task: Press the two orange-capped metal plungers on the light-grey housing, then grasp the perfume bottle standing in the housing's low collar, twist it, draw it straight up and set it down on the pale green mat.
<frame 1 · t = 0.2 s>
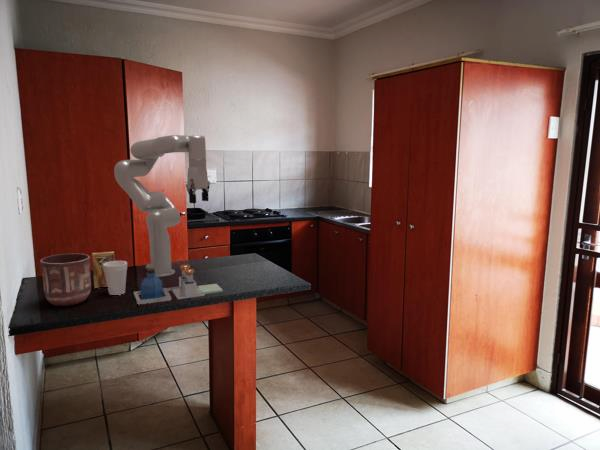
hand: (199, 201, 208), 36 cm above the counter, tool pointing down, fingers open, 9 cm apart
mat: (208, 289, 199), on the counter
perfume bottle: (152, 298, 188), resting in housing
plunger b: (185, 273, 197), point 8 cm above the counter, slide at 0.0 cm
foam cup: (117, 294, 194), on the counter
housing: (169, 295, 191), on the counter
plunger a: (189, 278, 190), point 8 cm above the counter, slide at 0.0 cm
candy box: (105, 287, 203), on the counter
pottery: (69, 302, 183), on the counter
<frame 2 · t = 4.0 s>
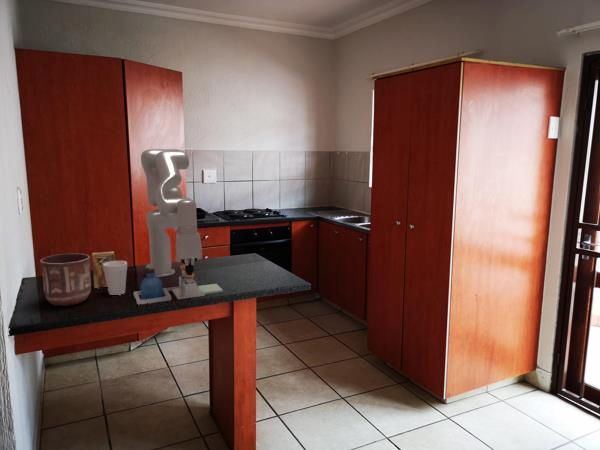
hand: (189, 274, 189), 9 cm above the counter, tool pointing down, fingers closed
plunger a: (189, 282, 190), point 6 cm above the counter, slide at 1.7 cm, touching gripper
everything else where it was.
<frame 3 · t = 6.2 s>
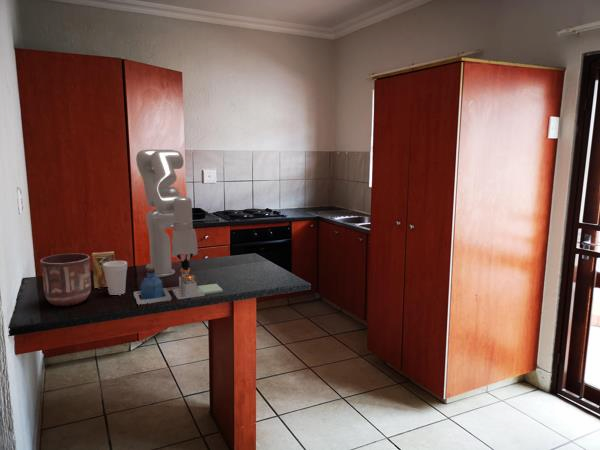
hand: (185, 269, 196), 9 cm above the counter, tool pointing down, fingers closed
plunger b: (185, 277, 197), point 6 cm above the counter, slide at 1.6 cm, touching gripper
plunger a: (189, 284, 190), point 5 cm above the counter, slide at 2.6 cm
everything else where it was.
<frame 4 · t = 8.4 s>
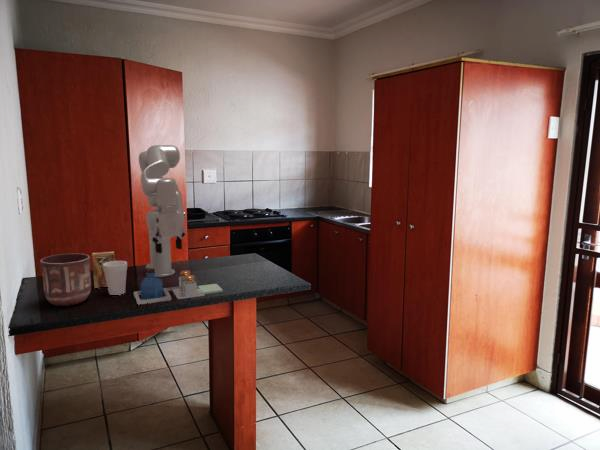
hand: (169, 250, 190), 19 cm above the counter, tool pointing down, fingers open, 9 cm apart
plunger b: (185, 279, 197), point 5 cm above the counter, slide at 2.6 cm
everything else where it was.
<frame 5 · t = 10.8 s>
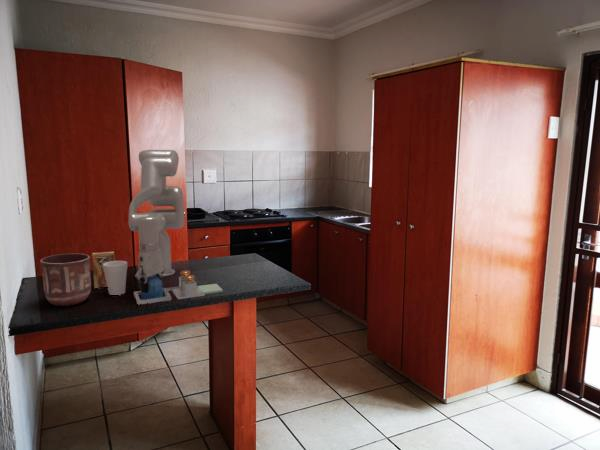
hand: (151, 289, 188), 4 cm above the counter, tool pointing down, fingers closed on perfume bottle, 7 cm apart
perfume bottle: (152, 298, 188), resting in housing, touching gripper
everything else where it was.
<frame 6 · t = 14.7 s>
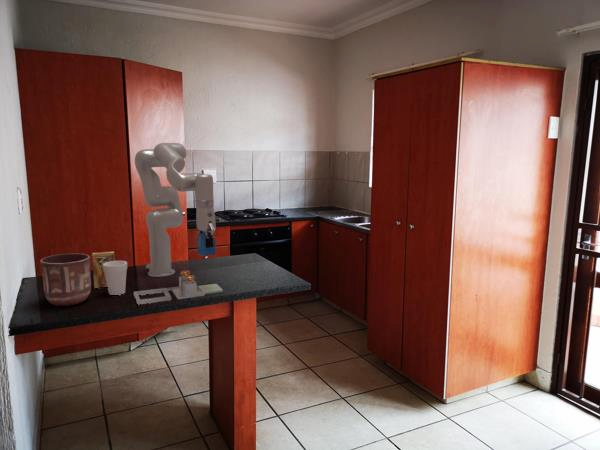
hand: (205, 245, 196), 20 cm above the counter, tool pointing down, fingers closed on perfume bottle, 6 cm apart
perfume bottle: (206, 254, 196), point 16 cm above the counter, touching gripper
everything else where it was.
when the fingers open (6 cm above the counter, at t = 17.9 s): perfume bottle drops 1 cm, resting on mat.
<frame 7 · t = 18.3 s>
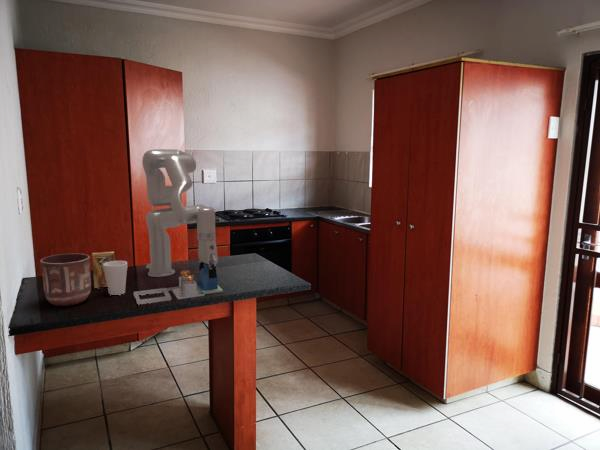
hand: (207, 275, 198), 6 cm above the counter, tool pointing down, fingers open, 9 cm apart
perfume bottle: (208, 288, 199), point 1 cm above the counter, touching mat
everything else where it was.
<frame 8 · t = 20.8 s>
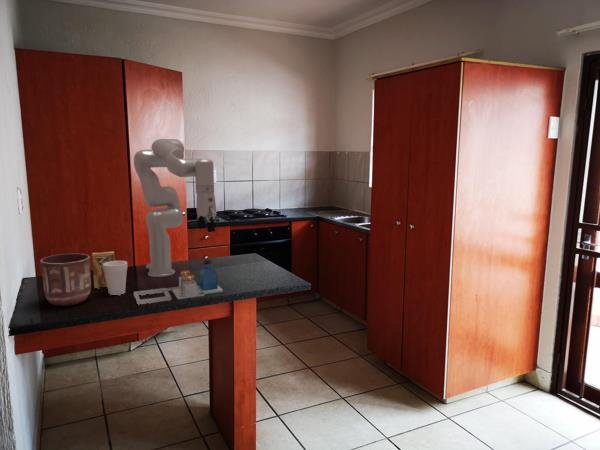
hand: (206, 229, 195), 26 cm above the counter, tool pointing down, fingers open, 9 cm apart
nothing on the counter moved.
at the end: perfume bottle inside the target area on the mat (0.4 cm from its centre), point 0.6 cm above the mat's base; perfume bottle tilted 0°; plunger b slide at 2.6 cm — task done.
